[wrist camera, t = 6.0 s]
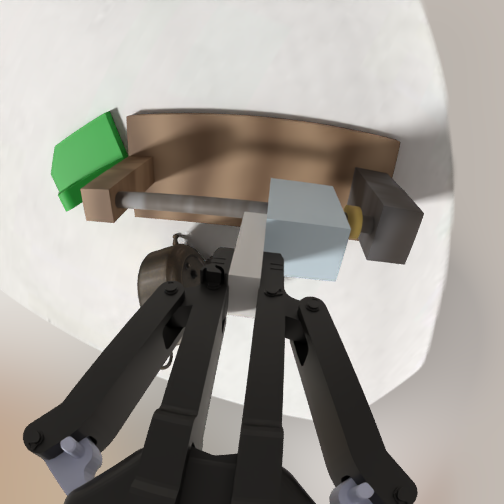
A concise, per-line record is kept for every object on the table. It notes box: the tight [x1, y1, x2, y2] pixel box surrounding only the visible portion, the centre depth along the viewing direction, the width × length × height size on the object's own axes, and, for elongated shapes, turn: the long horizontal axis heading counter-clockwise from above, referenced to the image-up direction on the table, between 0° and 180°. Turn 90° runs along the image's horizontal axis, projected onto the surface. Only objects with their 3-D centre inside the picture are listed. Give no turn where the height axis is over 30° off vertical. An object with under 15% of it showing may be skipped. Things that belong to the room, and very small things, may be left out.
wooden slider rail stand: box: [80, 113, 424, 264], centre depth 25 cm, size 28×12×10 cm, turn 86°
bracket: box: [51, 111, 129, 211], centre depth 27 cm, size 12×8×7 cm, turn 108°
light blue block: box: [263, 178, 351, 282], centre depth 20 cm, size 5×4×7 cm
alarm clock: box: [137, 234, 213, 370], centre depth 29 cm, size 11×5×16 cm, turn 19°
